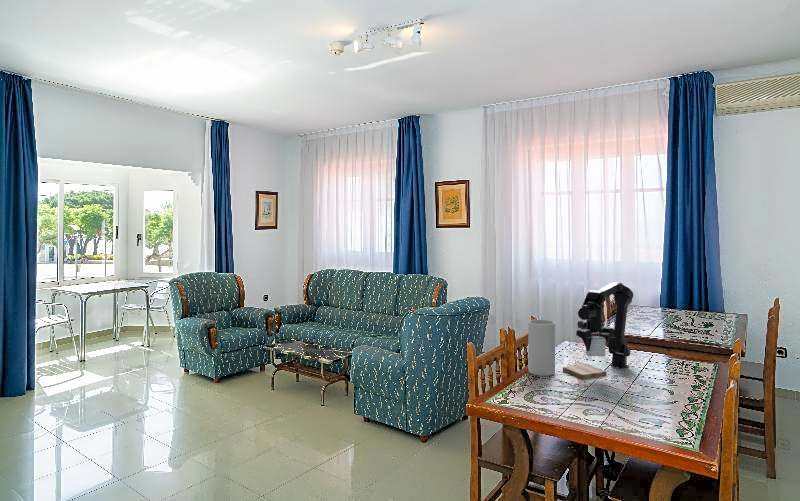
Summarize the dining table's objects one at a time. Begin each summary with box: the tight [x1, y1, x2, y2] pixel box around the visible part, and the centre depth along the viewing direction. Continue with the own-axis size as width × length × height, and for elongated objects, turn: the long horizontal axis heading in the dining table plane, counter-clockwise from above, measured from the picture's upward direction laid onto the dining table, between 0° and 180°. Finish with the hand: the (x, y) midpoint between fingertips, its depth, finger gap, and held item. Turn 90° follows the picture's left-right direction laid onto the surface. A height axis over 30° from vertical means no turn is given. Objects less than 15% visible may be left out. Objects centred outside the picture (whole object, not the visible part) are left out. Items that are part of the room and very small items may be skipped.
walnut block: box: [562, 363, 608, 380], centre depth 233 cm, size 14×14×2 cm
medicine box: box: [585, 336, 607, 357], centre depth 230 cm, size 8×4×9 cm, turn 87°
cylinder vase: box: [527, 318, 556, 377], centre depth 235 cm, size 12×12×25 cm
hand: (595, 349), depth 230 cm, fingers closed on medicine box, 9 cm apart
